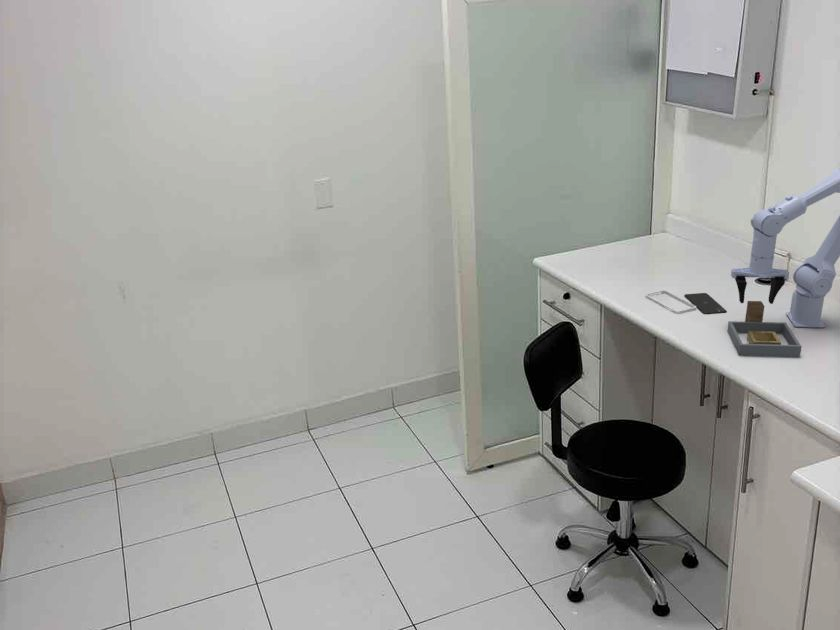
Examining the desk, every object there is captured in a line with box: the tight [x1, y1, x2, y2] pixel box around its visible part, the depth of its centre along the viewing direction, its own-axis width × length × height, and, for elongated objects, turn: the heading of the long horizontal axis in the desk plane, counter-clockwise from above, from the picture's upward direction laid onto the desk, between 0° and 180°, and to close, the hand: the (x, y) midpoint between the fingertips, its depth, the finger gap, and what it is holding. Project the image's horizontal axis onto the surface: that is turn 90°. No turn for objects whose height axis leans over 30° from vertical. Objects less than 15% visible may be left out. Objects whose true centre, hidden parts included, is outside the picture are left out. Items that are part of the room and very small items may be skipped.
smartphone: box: [684, 292, 728, 315], centre depth 252 cm, size 7×1×15 cm
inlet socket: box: [746, 331, 782, 345], centre depth 225 cm, size 7×7×2 cm
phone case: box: [645, 289, 697, 315], centre depth 253 cm, size 7×1×15 cm
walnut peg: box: [744, 300, 765, 322], centre depth 235 cm, size 4×4×7 cm
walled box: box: [726, 320, 802, 358], centre depth 226 cm, size 15×15×3 cm
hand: (755, 302), depth 233 cm, fingers open, 7 cm apart
